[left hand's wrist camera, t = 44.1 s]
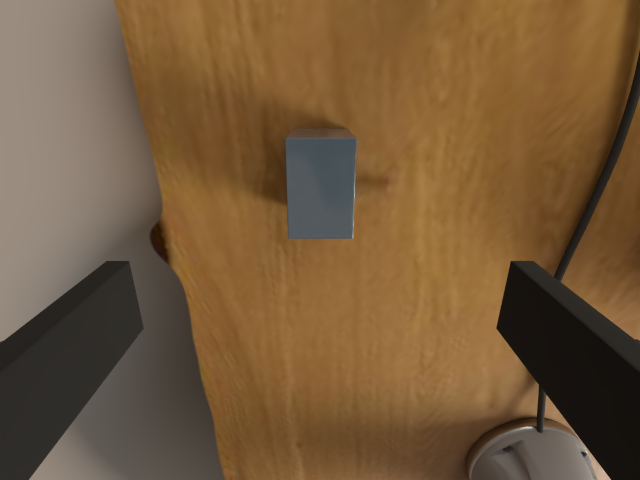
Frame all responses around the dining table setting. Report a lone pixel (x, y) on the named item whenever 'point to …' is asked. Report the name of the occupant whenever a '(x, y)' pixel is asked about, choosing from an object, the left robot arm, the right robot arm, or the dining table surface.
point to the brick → (320, 183)
